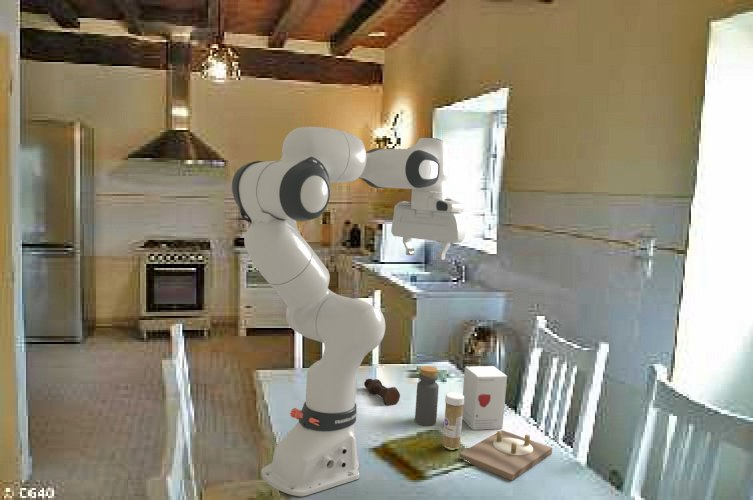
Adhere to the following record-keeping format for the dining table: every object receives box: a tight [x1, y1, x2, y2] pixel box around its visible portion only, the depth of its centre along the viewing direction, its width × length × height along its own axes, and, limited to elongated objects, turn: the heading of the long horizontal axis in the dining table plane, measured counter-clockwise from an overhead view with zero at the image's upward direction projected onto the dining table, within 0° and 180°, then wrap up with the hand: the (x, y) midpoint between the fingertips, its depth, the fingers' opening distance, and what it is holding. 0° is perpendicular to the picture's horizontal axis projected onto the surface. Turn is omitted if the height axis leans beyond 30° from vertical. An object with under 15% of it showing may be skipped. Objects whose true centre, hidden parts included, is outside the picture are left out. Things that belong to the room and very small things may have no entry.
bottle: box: [414, 365, 440, 427], centre depth 160 cm, size 6×6×15 cm
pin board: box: [458, 429, 553, 481], centre depth 142 cm, size 20×14×4 cm
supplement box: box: [462, 365, 508, 431], centre depth 161 cm, size 9×9×15 cm
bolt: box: [363, 378, 401, 407], centre depth 178 cm, size 6×5×15 cm
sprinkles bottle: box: [442, 391, 464, 448], centre depth 145 cm, size 5×5×14 cm
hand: (425, 257), depth 150 cm, fingers open, 8 cm apart
